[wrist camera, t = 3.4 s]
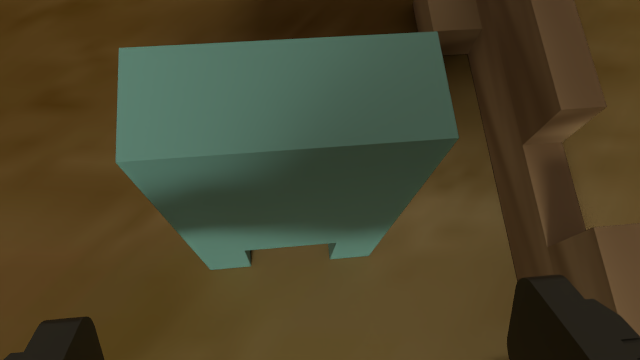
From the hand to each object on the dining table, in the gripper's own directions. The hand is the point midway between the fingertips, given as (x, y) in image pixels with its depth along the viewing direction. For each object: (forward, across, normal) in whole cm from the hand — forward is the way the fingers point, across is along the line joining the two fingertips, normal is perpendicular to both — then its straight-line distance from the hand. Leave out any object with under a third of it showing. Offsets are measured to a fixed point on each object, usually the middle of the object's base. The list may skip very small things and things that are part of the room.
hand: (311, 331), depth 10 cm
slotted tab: (+11, 0, +4) cm, 12 cm away
